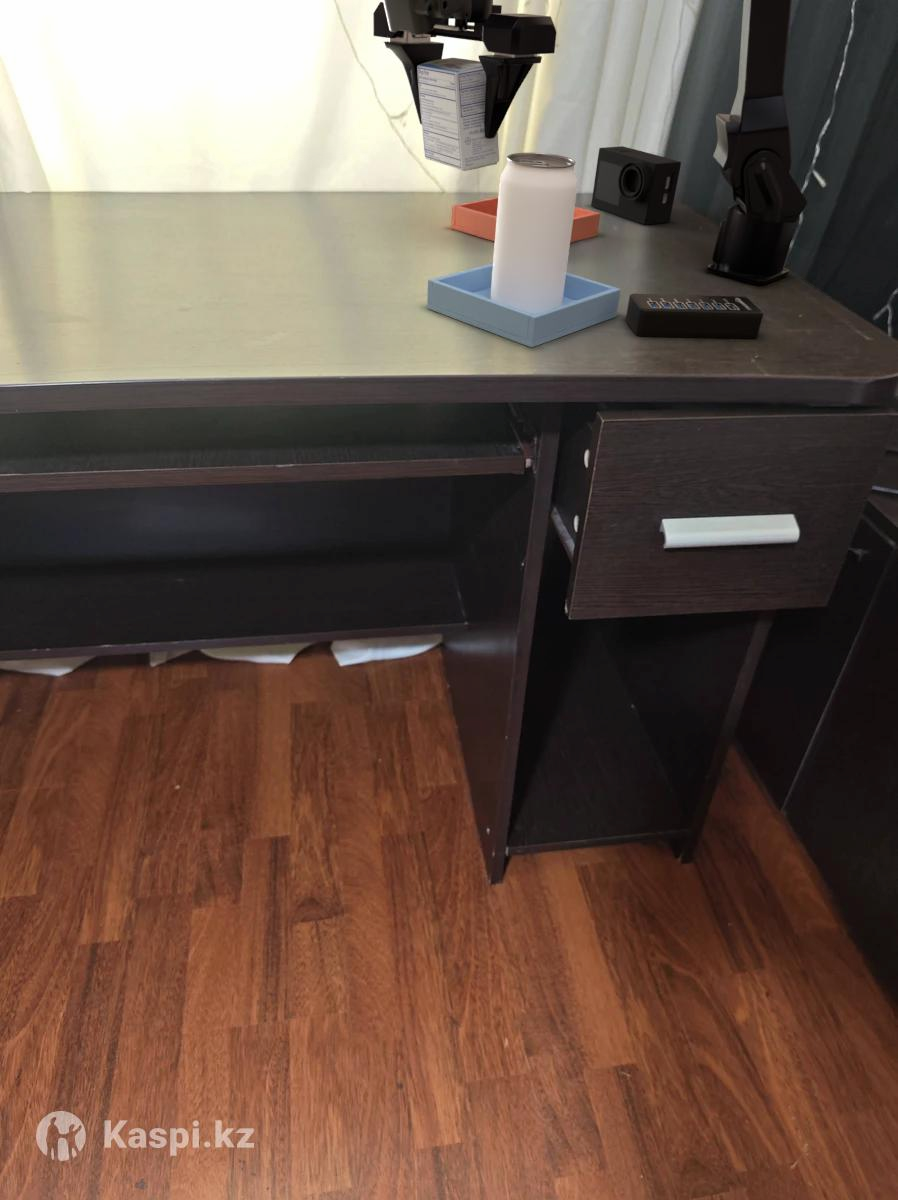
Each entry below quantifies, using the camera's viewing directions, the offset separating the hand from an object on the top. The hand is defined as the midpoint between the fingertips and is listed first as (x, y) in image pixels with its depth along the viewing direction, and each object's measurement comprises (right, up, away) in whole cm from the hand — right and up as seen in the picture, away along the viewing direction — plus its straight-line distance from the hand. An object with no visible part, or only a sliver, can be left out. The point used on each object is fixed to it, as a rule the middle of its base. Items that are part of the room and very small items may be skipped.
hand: (456, 131), depth 85 cm
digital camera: (+22, +2, +24) cm, 33 cm away
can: (+6, -21, -8) cm, 23 cm away
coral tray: (+8, -4, +14) cm, 17 cm away
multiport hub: (+21, -23, -9) cm, 32 cm away
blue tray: (+6, -21, -8) cm, 23 cm away
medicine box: (0, -2, +2) cm, 3 cm away
